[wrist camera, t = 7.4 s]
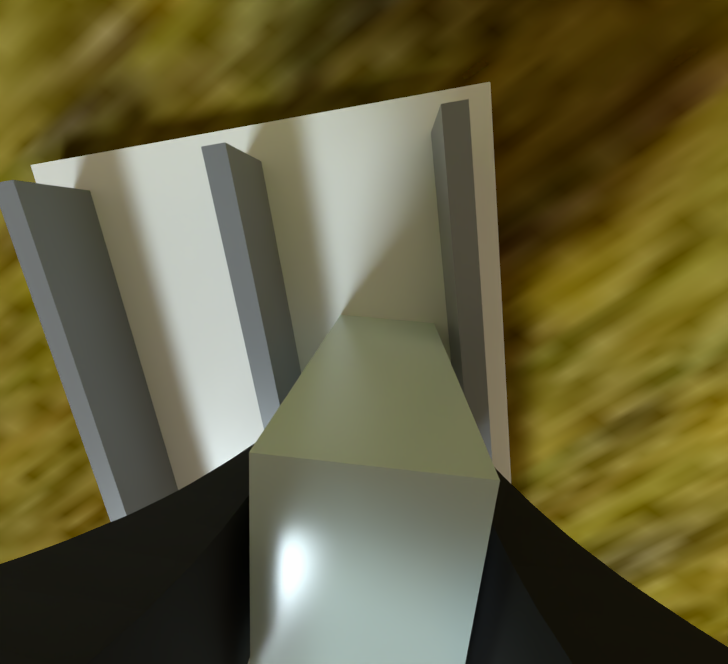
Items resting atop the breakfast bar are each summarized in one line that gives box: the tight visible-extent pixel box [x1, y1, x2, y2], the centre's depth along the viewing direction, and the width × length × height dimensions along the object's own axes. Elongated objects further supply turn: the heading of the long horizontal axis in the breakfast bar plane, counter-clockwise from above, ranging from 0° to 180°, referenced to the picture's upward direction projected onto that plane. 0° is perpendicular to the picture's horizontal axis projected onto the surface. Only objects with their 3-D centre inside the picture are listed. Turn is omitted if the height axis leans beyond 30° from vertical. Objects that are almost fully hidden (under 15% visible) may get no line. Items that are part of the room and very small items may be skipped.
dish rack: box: [0, 82, 511, 522], centre depth 13 cm, size 18×14×4 cm
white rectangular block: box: [249, 315, 500, 664], centre depth 9 cm, size 6×3×8 cm, turn 176°
